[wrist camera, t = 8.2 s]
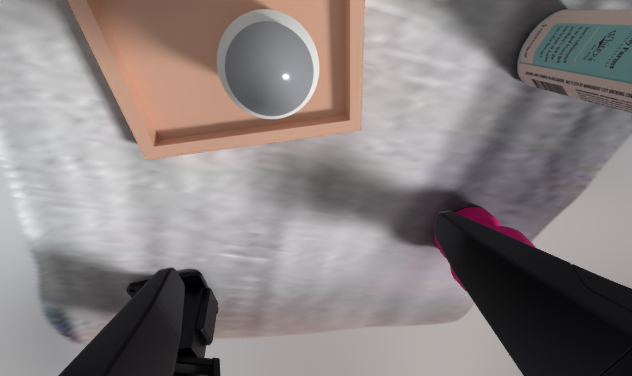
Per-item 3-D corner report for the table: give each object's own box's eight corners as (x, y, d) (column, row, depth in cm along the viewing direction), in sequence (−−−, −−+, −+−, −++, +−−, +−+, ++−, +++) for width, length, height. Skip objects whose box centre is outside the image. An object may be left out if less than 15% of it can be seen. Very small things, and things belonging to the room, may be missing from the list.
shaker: (238, 98, 16) (230, 130, 12) (218, 14, 14) (198, 14, 9) (307, 90, 17) (325, 118, 12) (300, 7, 14) (319, 3, 10)
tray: (154, 149, 18) (146, 160, 16) (-2, -189, 10) (-42, -220, 9) (354, 122, 19) (361, 130, 18) (358, -190, 11) (371, -217, 10)
